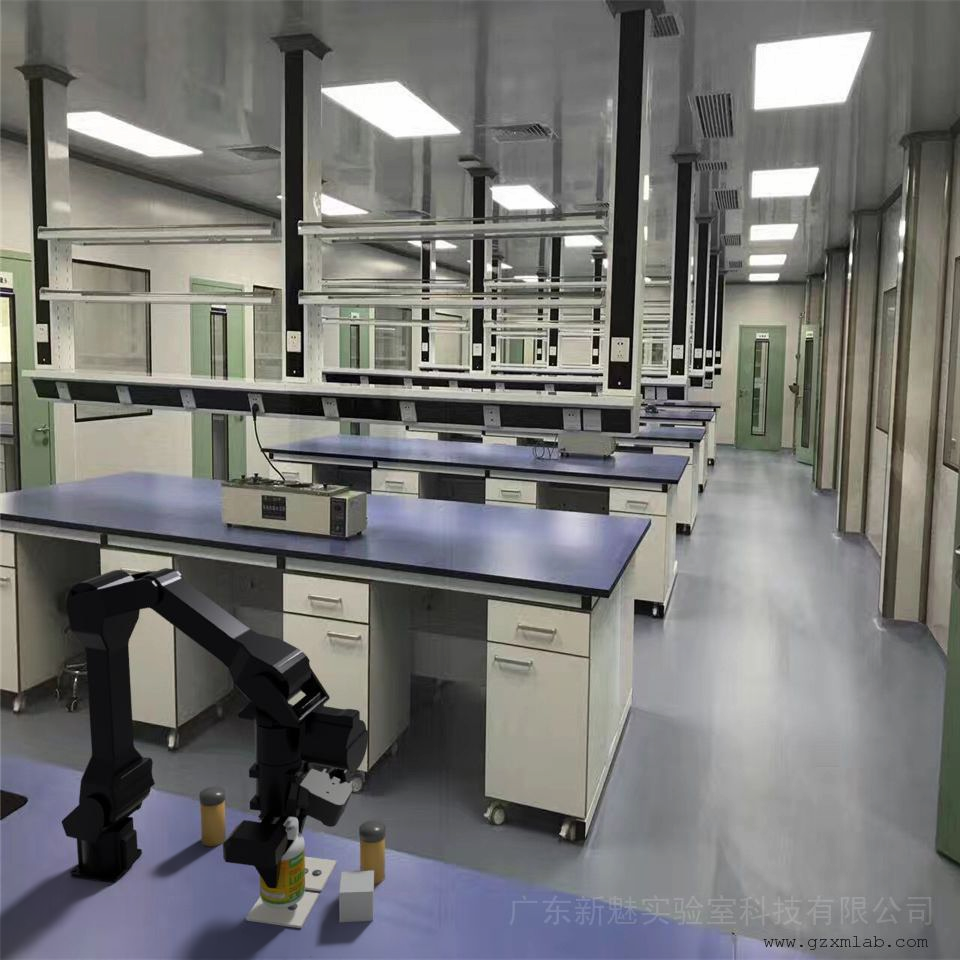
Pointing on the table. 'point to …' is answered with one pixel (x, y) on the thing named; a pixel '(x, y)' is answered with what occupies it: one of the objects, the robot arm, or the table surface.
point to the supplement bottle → (288, 872)
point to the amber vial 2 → (373, 848)
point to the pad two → (284, 912)
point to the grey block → (356, 896)
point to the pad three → (317, 872)
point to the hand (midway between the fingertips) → (281, 872)
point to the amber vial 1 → (212, 816)
